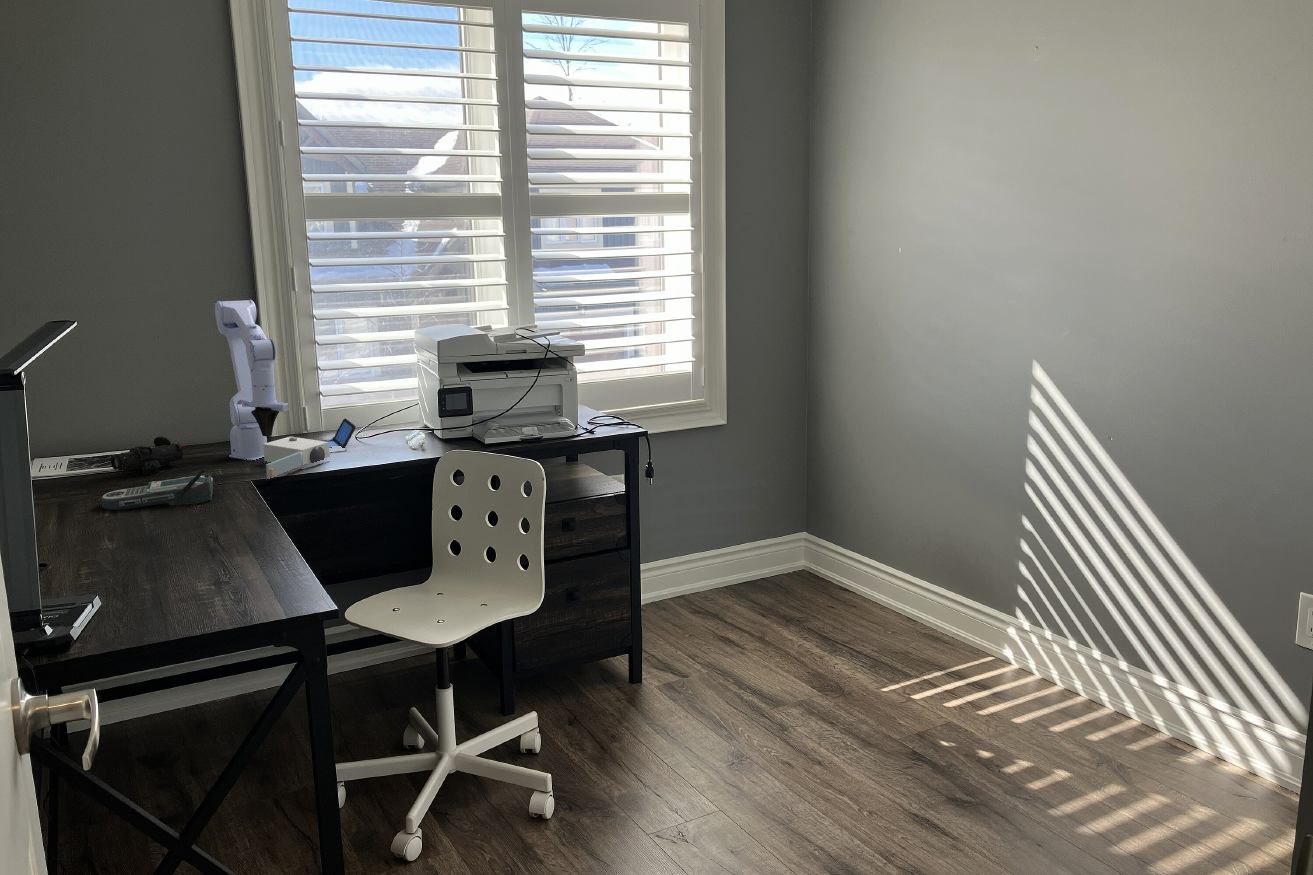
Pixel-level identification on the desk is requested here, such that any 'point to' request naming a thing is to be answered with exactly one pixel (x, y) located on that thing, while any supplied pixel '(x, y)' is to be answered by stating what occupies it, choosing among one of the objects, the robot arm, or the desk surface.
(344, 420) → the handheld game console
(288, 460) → the side door
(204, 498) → the communication device
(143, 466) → the night vision scope
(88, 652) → the desk surface
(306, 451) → the camera body
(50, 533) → the desk surface
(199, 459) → the desk surface
